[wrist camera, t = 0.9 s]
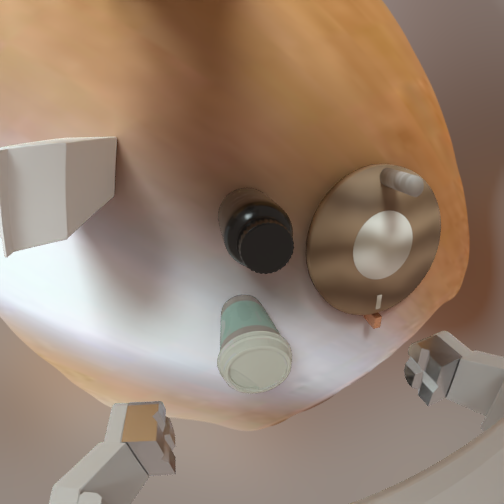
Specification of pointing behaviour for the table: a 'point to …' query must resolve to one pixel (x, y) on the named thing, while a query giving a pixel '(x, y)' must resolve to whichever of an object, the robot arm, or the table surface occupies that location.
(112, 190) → the milk carton
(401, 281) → the turntable
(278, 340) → the coffee cup
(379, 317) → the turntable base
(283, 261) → the supplement bottle
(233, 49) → the table surface
